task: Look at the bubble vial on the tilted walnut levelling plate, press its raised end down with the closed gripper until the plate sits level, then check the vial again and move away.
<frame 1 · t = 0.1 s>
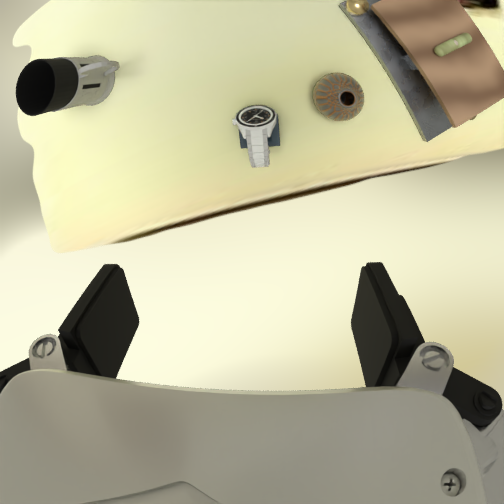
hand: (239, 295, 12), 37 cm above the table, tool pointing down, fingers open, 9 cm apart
levelling plate: (451, 45, 27), point 7 cm above the table, hinge at -12.0°
watch: (259, 128, 43), on the table
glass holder: (106, 76, 39), on the table
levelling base: (429, 49, 34), on the table
vase: (333, 95, 40), on the table
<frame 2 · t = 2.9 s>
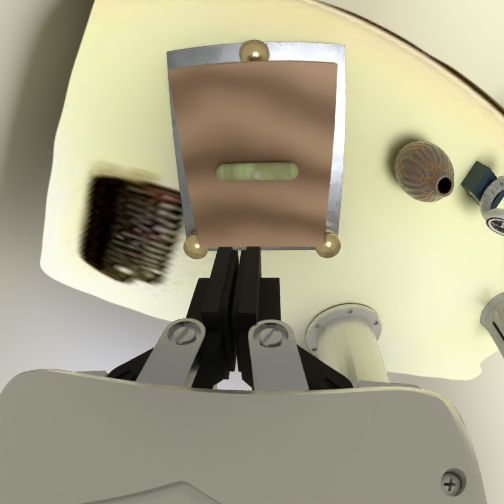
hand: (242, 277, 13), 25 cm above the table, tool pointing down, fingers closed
levelling plate: (257, 167, 28), point 7 cm above the table, hinge at -12.0°
watch: (477, 184, 34), on the table
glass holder: (491, 304, 45), on the table
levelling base: (259, 149, 34), on the table
vase: (411, 162, 34), on the table
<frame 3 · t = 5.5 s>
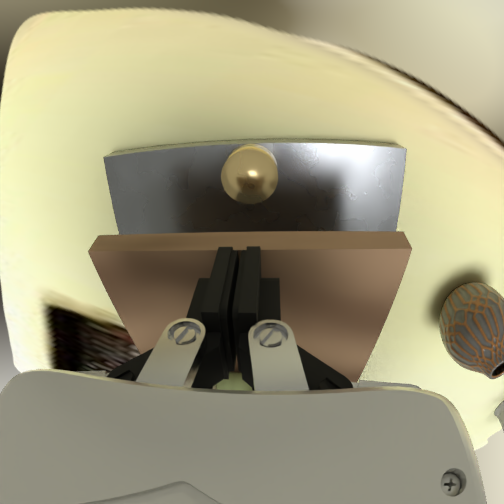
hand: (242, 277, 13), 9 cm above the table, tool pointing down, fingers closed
levelling plate: (253, 375, 18), point 7 cm above the table, hinge at -9.4°, touching gripper
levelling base: (258, 301, 24), on the table
vase: (459, 299, 24), on the table
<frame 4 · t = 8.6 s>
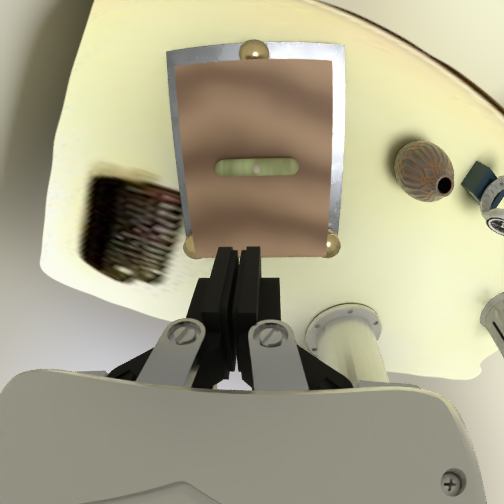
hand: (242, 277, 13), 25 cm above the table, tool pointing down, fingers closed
levelling plate: (257, 164, 28), point 7 cm above the table, hinge at 0.4°
watch: (477, 184, 34), on the table
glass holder: (491, 304, 45), on the table
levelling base: (259, 149, 34), on the table
vase: (411, 162, 34), on the table
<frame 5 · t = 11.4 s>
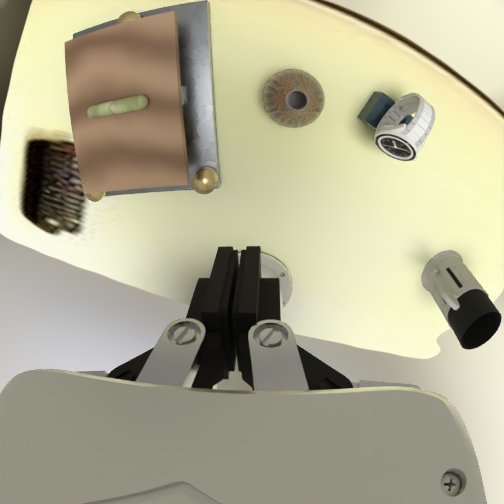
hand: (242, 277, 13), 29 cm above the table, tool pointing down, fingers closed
levelling plate: (119, 106, 29), point 7 cm above the table, hinge at 0.4°
watch: (381, 117, 35), on the table
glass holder: (434, 264, 46), on the table
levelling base: (143, 101, 35), on the table
vase: (290, 97, 35), on the table
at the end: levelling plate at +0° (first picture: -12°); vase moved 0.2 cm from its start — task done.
